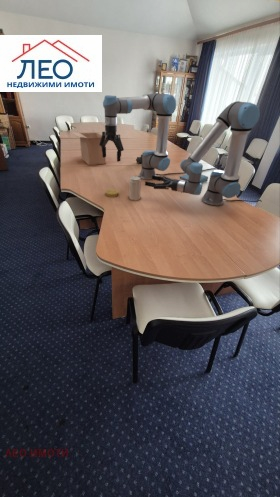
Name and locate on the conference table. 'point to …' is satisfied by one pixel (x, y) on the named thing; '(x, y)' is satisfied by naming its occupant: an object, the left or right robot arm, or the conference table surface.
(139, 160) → the laser sight
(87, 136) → the box
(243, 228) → the conference table surface
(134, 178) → the jar
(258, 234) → the conference table surface
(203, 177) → the book
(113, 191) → the lid
